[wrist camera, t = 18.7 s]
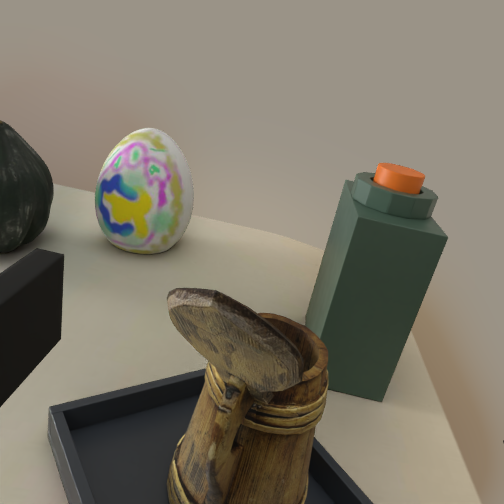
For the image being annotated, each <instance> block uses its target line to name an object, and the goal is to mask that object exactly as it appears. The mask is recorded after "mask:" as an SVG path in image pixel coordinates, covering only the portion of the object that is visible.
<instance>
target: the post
mask: <svg viewBox="0 0 504 504" xmlns="http://www.w3.org/2000/svg"><path fill="white" fill-rule="evenodd" d="M374 176H375V173H367V172H363V173H358V174H356V177H355V180H354V182H353V181H349V180H345V184H344V187H343V191H342V194H341V197H340V201H339V204H338V208H337V211H336V215H335V218H334V221H333V225H332V228H331V232H330V235H329V238H328V242H327V245H326V249H325V252H324V255H323V259H322V262H321V266H320V269H319V272H318V276H317V279H316V283H315V286H314V290H313V293H312V296H311V300H310V303H309V307H308V310H307V313H306V327H308V328H309V329H310V330H311V331H312V332H314V333H315V334H316V335H317V336H318V337H319V339H320V340H321V341H322V342H323V343H324V345H325V346H326V348H327V350H328V365H327V371H328V389H330V390H334V391H338V392H342V393H346V394H351V395H355V396H359V397H363V398H367V399H372V400H376V401H380V402H382V400H383V398H384V395H385V393H386V390H387V388H388V385H389V383H390V380H391V378H392V375H393V373H394V370H395V368H396V366H397V363H398V361H399V358H400V356H401V353H402V351H403V348H404V346H405V343H406V341H407V338H408V336H409V333H410V331H411V328H412V326H413V323H414V321H415V318H416V316H417V313H418V311H419V308H420V306H421V303H422V301H423V298H424V296H425V294H426V291H427V289H428V286H429V284H430V281H431V278H432V276H433V274H434V271H435V269H436V266H437V264H438V261H439V259H440V256H441V254H442V251H443V249H444V247H445V244H446V242H447V239H448V237H447V235H446V234H445V233H444V232H443V230H442V229H441V228H440V227H439V225H438V224H437V223H436V222H435V221H434V219H433V218H432V217H431V215H432V212H433V210H434V207H435V204H436V202H437V199H438V196H437V195H436V194H435V193H434V192H433V191H431V190H429V189H427V188H425V187H423V186H422V187H421V190H420V193H419V194H409V193H405V192H400V191H396V190H393V189H390V188H387V187H384V186H381V185H379V184H377V183H375V182H373V180H374Z"/></svg>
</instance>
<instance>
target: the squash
mask: <svg viewBox="0 0 504 504" xmlns="http://www.w3.org/2000/svg"><path fill="white" fill-rule="evenodd" d="M52 200H53V182H52V177H51V174H50V172H49V169H48V167H47V166H46V164H45V163H44V161H43V160H42V159H41V157H40V156H39V155H38V154H37V153H36V151H34V149H33V148H32V147H31V146H30V145H29V144H28V143H27V142H26V141H25V140H24V139H23V138H22V137H21V136H20V135H19V134H18V133H17V132H16V131H15V130H14V129H13V128H12V127H10V126H9V125H8V124H6V123H5V122H2V121H0V252H4V253H6V252H10V251H12V250H14V249H15V248H17V247H18V246H19V245H24V244H27V243H29V242H31V241H32V240H34V239H35V238H36V237H37V236H38V235H39V234H40V233H41V232H42V231H43V230H44V228H45V226H46V224H47V221H48V218H49V214H50V207H51V203H52Z"/></svg>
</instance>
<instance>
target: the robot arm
mask: <svg viewBox="0 0 504 504" xmlns="http://www.w3.org/2000/svg"><path fill="white" fill-rule="evenodd" d="M63 271H64V254H60V253H56V252H51V251H47V250H42V249H38V248H36V249H35V250H33V251H32V252H31V253H29V254H28V255H26V256H25V257H23V258H22V259H20V260H19V261H17V262H16V263H15V264H13V265H12V266H10V267H9V268H7V269H6V270H4V271H3V272H1V273H0V407H1V406H2V405H3V404H4V402H5V401H6V400H7V399H8V398H9V397H10V396H11V395H12V393H13V392H14V391H15V390H16V389H17V388H18V387H19V386H20V384H21V383H22V382H23V381H24V380H25V379H26V378H27V377H28V375H29V374H30V373H31V372H32V371H33V370H34V369H35V368H36V366H37V365H38V364H39V363H40V362H41V361H42V360H43V358H44V357H45V356H46V355H47V354H48V353H49V352H50V351H51V349H52V348H53V347H54V346H55V345H56V344H57V343H58V342H59V340H60V339H61V323H62V297H63ZM503 442H504V441H503Z"/></svg>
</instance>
